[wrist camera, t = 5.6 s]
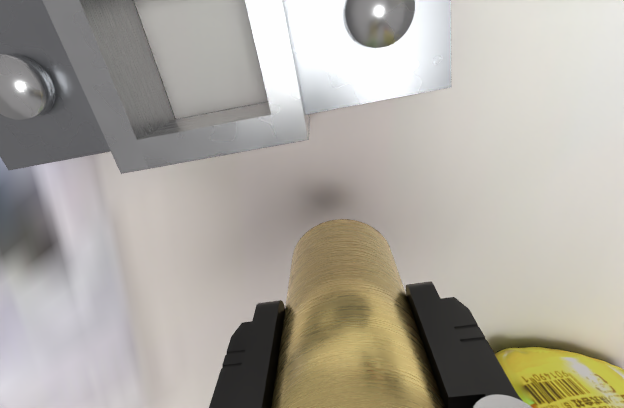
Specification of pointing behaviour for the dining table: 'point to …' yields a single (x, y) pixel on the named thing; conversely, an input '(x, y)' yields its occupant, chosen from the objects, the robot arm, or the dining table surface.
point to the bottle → (562, 378)
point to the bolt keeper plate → (211, 126)
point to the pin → (350, 327)
